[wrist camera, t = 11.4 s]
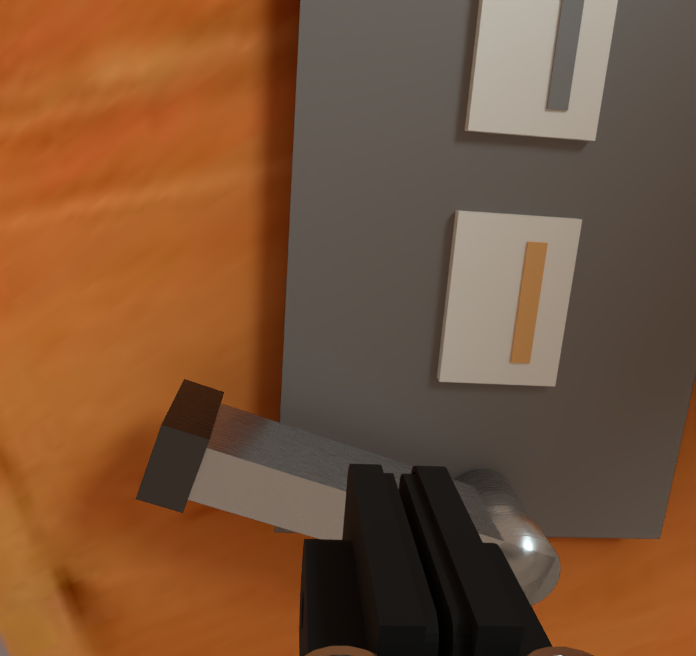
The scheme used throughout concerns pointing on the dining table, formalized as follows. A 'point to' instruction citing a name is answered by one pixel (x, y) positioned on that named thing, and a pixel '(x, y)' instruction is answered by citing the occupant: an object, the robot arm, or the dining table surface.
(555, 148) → the label board
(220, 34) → the dining table surface
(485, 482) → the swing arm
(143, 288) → the dining table surface
